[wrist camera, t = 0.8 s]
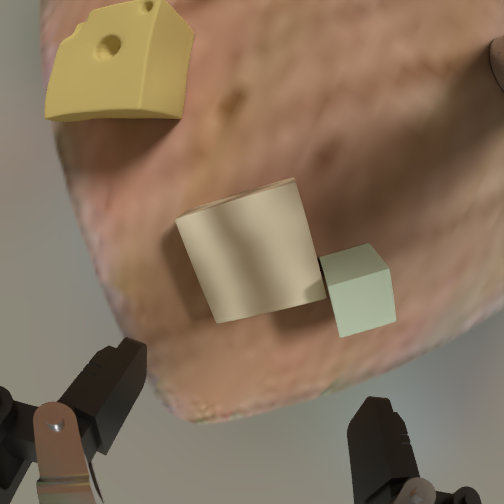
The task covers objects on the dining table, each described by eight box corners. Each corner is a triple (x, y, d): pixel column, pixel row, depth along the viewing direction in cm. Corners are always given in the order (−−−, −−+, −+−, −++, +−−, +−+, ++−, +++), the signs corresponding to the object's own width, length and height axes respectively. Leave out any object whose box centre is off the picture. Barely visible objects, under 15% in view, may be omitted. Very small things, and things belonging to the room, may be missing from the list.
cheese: (113, 39, 25) (61, 14, 16) (202, 32, 24) (168, -9, 15) (99, 123, 28) (40, 122, 19) (187, 124, 28) (144, 116, 18)
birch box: (293, 176, 29) (295, 181, 24) (321, 276, 32) (326, 298, 27) (191, 208, 31) (174, 219, 26) (225, 300, 34) (216, 323, 29)
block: (368, 242, 30) (389, 268, 23) (377, 288, 32) (396, 321, 25) (319, 257, 31) (327, 286, 24) (330, 301, 33) (339, 337, 26)
